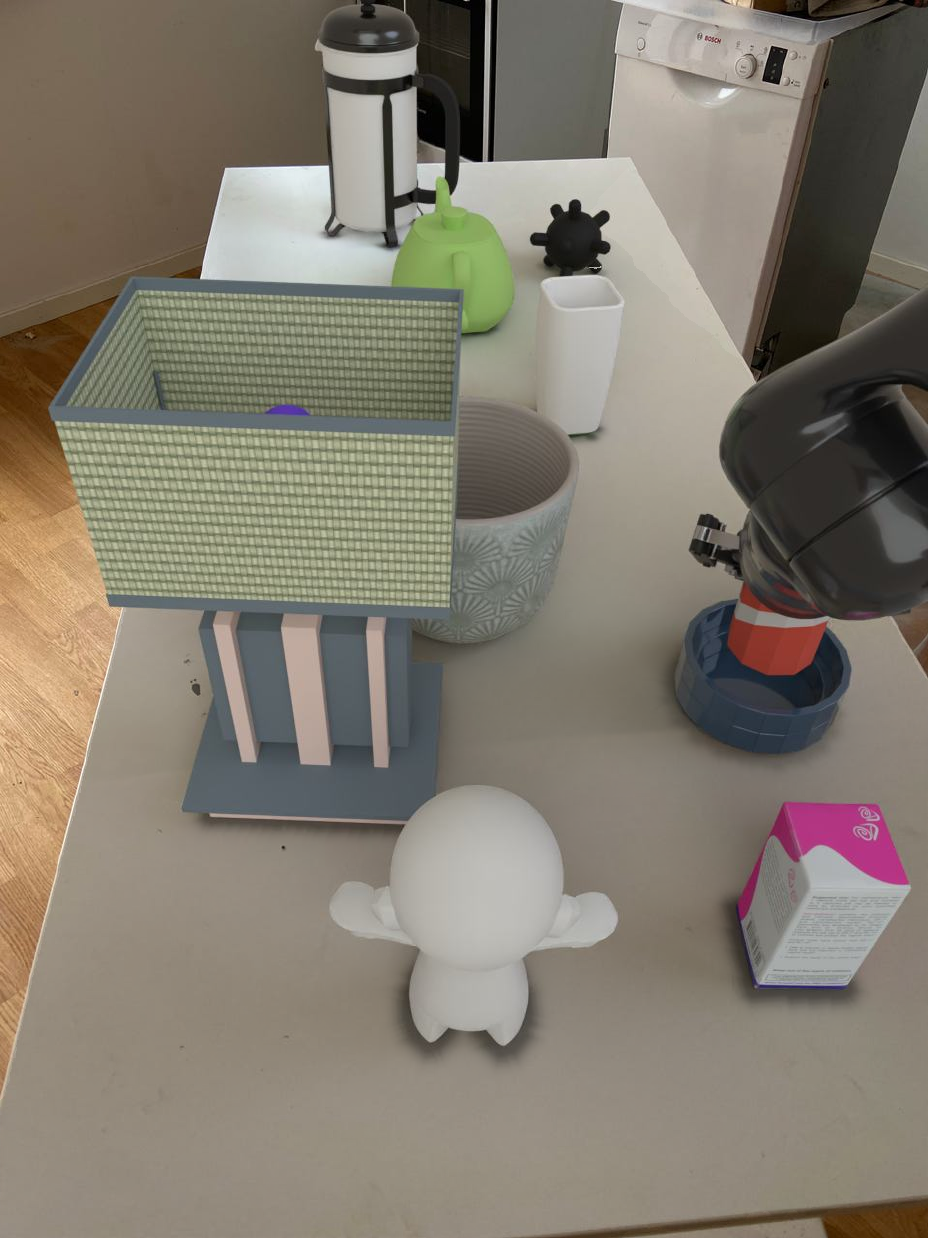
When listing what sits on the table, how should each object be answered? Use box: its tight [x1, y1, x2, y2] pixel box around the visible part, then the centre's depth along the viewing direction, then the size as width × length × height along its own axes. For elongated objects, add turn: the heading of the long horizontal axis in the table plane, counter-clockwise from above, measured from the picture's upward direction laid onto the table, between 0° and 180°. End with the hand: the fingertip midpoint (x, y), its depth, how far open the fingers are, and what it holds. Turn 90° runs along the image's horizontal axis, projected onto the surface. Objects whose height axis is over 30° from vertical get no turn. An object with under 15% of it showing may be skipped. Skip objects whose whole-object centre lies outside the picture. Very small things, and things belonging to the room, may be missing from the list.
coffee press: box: [314, 0, 461, 248], centre depth 130 cm, size 17×16×30 cm
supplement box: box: [735, 801, 912, 990], centre depth 57 cm, size 6×6×12 cm
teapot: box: [390, 176, 515, 334], centre depth 117 cm, size 22×15×13 cm
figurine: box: [328, 784, 619, 1047], centre depth 50 cm, size 16×8×20 cm, turn 88°
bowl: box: [673, 598, 853, 755], centre depth 74 cm, size 12×12×5 cm
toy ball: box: [529, 198, 611, 277], centre depth 128 cm, size 11×11×12 cm
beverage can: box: [727, 581, 831, 675], centre depth 68 cm, size 6×6×12 cm
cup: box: [534, 274, 626, 437], centre depth 99 cm, size 7×7×15 cm
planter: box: [412, 395, 580, 645], centre depth 78 cm, size 17×17×15 cm
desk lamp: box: [47, 275, 464, 825], centre depth 60 cm, size 18×14×33 cm
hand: (791, 579), depth 70 cm, fingers closed on beverage can, 6 cm apart
